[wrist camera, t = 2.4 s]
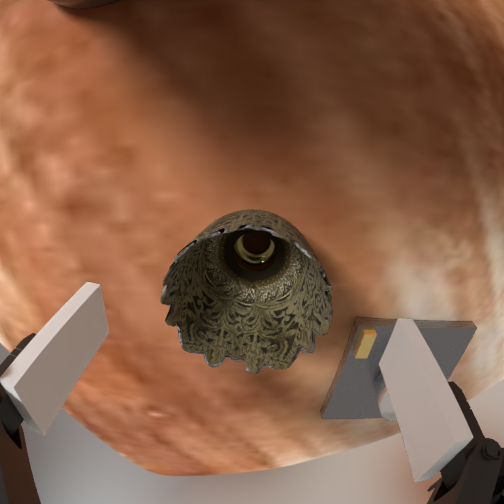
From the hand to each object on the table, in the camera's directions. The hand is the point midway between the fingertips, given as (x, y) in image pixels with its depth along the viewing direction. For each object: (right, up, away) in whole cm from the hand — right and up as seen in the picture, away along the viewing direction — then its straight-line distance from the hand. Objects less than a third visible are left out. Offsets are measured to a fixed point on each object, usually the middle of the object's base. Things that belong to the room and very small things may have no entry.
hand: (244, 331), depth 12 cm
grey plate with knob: (+14, -8, +12) cm, 19 cm away
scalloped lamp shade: (+1, +4, +8) cm, 9 cm away
